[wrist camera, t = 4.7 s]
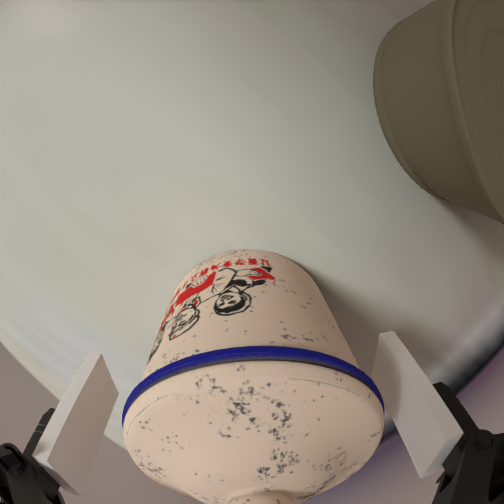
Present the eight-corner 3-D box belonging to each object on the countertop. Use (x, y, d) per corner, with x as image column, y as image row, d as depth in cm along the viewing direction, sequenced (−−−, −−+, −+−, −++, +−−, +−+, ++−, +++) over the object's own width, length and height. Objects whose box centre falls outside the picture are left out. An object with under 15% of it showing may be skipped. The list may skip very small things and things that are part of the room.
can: (354, 181, 14) (431, 212, 8) (373, -16, 11) (433, -72, 4) (499, 219, 16) (571, 253, 9) (513, 62, 12) (582, 57, 5)
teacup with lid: (256, 204, 15) (307, 382, 4) (355, 321, 17) (445, 487, 6) (108, 337, 17) (30, 495, 6) (210, 415, 19) (203, 564, 8)
